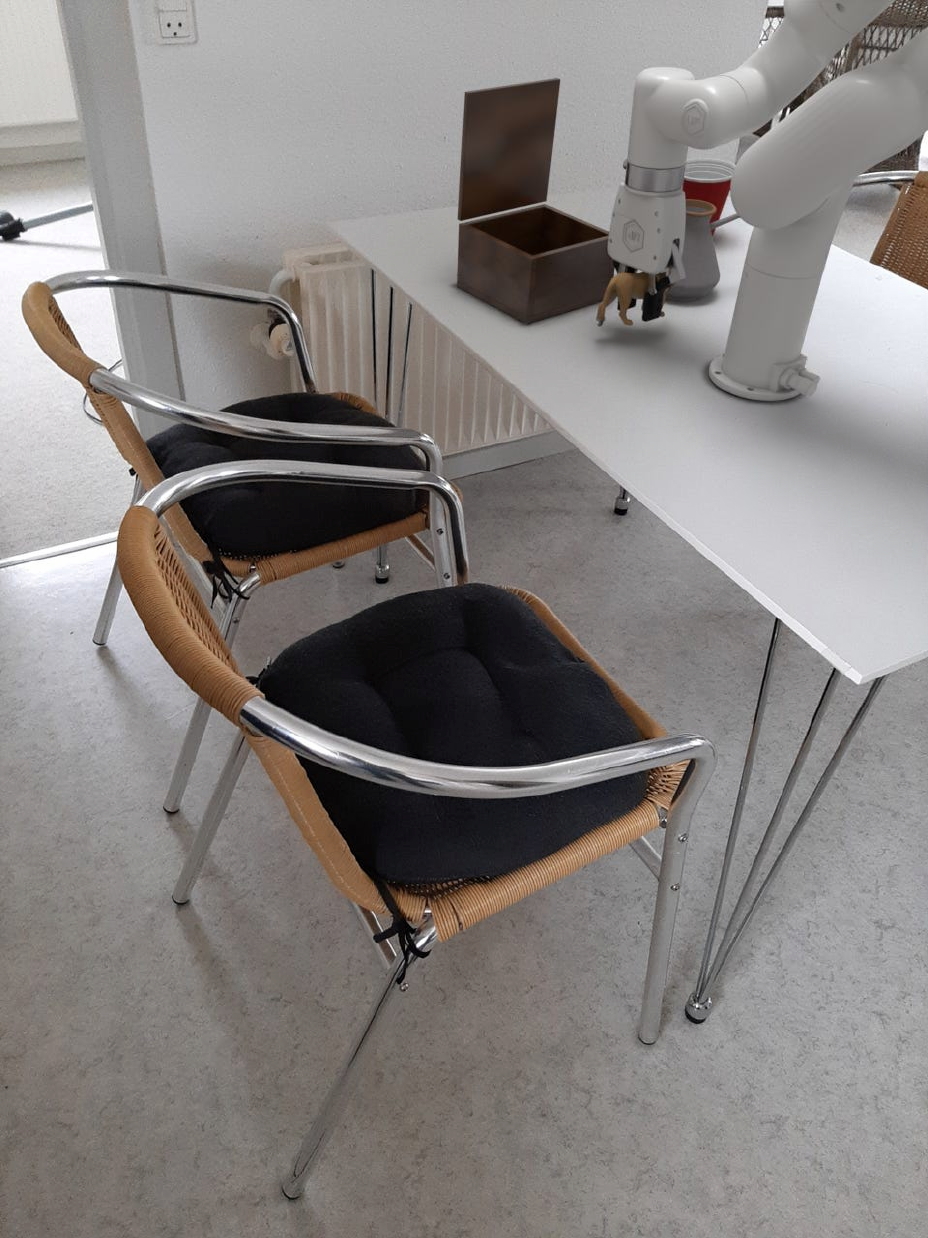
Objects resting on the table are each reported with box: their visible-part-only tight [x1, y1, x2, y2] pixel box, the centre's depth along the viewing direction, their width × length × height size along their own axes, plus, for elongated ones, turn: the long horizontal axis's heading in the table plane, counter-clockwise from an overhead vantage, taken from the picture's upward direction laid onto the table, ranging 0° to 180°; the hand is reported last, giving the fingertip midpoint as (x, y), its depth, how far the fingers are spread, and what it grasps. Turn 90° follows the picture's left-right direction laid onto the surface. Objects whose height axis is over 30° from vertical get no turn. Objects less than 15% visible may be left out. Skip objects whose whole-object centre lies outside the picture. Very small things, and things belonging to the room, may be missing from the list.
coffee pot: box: [666, 199, 741, 302], centre depth 152 cm, size 21×12×15 cm, turn 98°
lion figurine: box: [596, 268, 675, 327], centre depth 138 cm, size 15×5×9 cm, turn 130°
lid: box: [457, 77, 561, 222], centre depth 147 cm, size 17×17×5 cm
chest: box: [456, 203, 615, 325], centre depth 151 cm, size 16×17×10 cm
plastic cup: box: [682, 157, 737, 237], centre depth 170 cm, size 11×11×12 cm
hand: (638, 312), depth 141 cm, fingers closed on lion figurine, 4 cm apart
